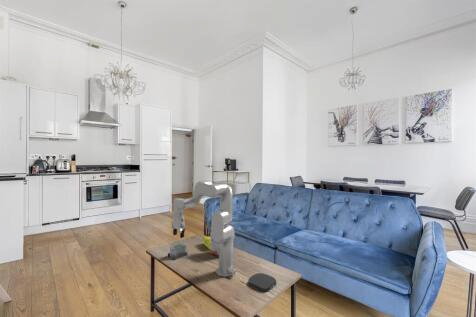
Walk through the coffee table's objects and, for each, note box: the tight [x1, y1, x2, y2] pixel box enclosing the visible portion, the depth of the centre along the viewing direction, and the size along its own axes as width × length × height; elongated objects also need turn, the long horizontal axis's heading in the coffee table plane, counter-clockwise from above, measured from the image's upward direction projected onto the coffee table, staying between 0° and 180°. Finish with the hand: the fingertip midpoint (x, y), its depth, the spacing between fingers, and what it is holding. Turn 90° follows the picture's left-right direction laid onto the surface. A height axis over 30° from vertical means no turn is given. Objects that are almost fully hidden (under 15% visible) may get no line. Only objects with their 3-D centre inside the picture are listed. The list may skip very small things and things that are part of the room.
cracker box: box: [209, 227, 219, 257], centre depth 175 cm, size 14×6×21 cm, turn 53°
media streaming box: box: [247, 272, 277, 293], centre depth 134 cm, size 15×15×3 cm
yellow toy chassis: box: [202, 235, 210, 251], centre depth 190 cm, size 16×6×8 cm, turn 29°
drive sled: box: [167, 251, 188, 261], centre depth 171 cm, size 9×12×2 cm
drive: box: [169, 242, 187, 258], centre depth 171 cm, size 5×11×7 cm, turn 140°
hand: (178, 236), depth 171 cm, fingers open, 9 cm apart
